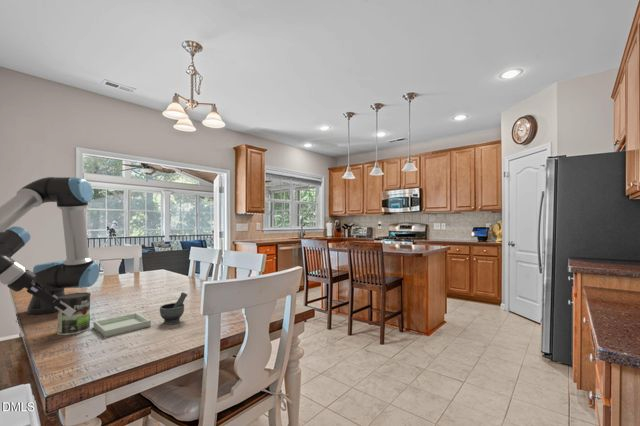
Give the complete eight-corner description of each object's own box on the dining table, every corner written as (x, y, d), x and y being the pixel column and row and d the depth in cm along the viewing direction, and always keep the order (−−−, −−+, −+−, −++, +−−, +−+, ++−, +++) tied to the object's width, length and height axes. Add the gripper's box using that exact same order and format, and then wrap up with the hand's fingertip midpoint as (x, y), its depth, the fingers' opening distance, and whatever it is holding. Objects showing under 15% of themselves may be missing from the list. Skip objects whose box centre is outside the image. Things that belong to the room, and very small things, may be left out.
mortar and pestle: (163, 327, 126) (163, 298, 126) (156, 321, 133) (156, 294, 133) (190, 321, 134) (191, 293, 134) (183, 316, 141) (183, 289, 141)
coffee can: (96, 327, 127) (96, 292, 127) (71, 336, 117) (72, 299, 117) (76, 325, 129) (76, 291, 129) (49, 334, 119) (50, 297, 119)
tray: (93, 327, 126) (93, 321, 126) (136, 318, 138) (136, 312, 138) (104, 337, 115) (105, 331, 115) (150, 326, 127) (150, 320, 127)
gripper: (3, 280, 116) (54, 311, 127) (8, 291, 100) (66, 325, 111) (23, 265, 120) (71, 296, 131) (31, 272, 104) (85, 307, 115)
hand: (69, 310), depth 121 cm, fingers open, 13 cm apart
